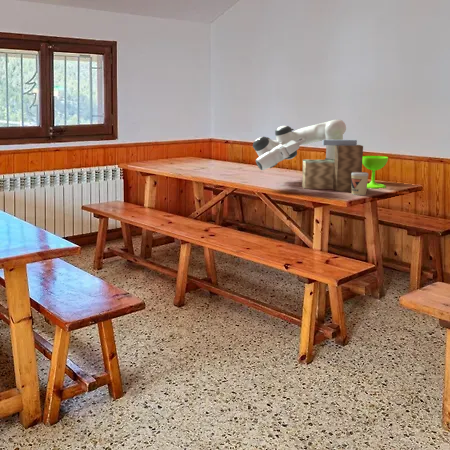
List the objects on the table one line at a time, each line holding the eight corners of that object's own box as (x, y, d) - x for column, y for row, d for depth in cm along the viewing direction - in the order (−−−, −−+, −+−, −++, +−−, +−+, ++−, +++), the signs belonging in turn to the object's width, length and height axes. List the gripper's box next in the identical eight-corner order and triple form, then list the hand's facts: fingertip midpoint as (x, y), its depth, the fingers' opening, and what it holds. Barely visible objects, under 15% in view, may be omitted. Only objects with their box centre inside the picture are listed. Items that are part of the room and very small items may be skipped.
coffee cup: (346, 193, 337) (347, 172, 335) (359, 192, 342) (360, 171, 340) (358, 196, 329) (359, 174, 327) (370, 194, 334) (372, 173, 332)
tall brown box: (336, 191, 345) (338, 145, 340) (333, 189, 354) (335, 144, 349) (360, 191, 346) (363, 145, 341) (356, 189, 355) (359, 144, 349)
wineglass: (355, 187, 362) (357, 157, 358) (364, 184, 376) (365, 155, 372) (381, 189, 354) (383, 158, 350) (389, 186, 368) (391, 156, 364)
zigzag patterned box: (304, 188, 355) (305, 161, 352) (302, 186, 365) (302, 159, 362) (345, 188, 356) (346, 161, 353) (341, 186, 366) (342, 159, 362)
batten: (323, 145, 343) (323, 140, 342) (322, 144, 346) (322, 139, 345) (356, 145, 343) (356, 140, 343) (355, 145, 346) (355, 139, 346)
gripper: (282, 154, 358) (303, 143, 356) (287, 158, 338) (308, 145, 336) (277, 145, 357) (298, 133, 355) (281, 148, 336) (303, 135, 335)
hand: (303, 139), depth 346 cm, fingers open, 8 cm apart
